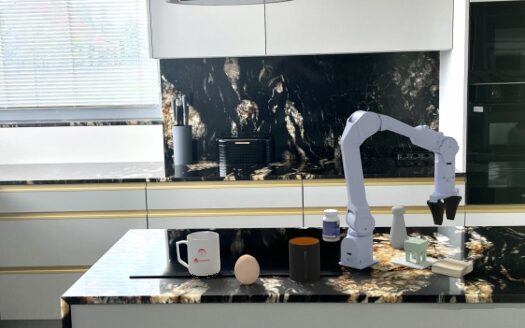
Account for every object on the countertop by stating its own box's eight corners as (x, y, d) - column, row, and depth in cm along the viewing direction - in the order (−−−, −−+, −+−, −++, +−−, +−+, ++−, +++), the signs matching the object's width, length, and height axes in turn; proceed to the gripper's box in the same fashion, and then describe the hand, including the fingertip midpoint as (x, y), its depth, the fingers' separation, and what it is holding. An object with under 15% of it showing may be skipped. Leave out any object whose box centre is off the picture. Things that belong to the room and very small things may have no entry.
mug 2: (290, 288, 154) (289, 249, 152) (289, 273, 166) (288, 237, 164) (322, 287, 154) (322, 248, 152) (319, 272, 166) (318, 236, 164)
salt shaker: (394, 243, 192) (394, 203, 190) (411, 245, 188) (411, 205, 186) (385, 247, 187) (385, 207, 185) (402, 250, 184) (402, 209, 182)
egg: (231, 282, 160) (230, 253, 159) (254, 278, 163) (252, 250, 161) (240, 289, 154) (239, 260, 153) (263, 285, 157) (262, 256, 155)
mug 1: (220, 267, 172) (219, 230, 171) (220, 278, 164) (218, 238, 162) (179, 269, 172) (177, 232, 170) (176, 280, 163) (174, 240, 162)
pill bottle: (340, 241, 196) (340, 212, 194) (323, 242, 196) (323, 212, 194) (338, 237, 201) (338, 208, 200) (322, 237, 201) (321, 208, 200)
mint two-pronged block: (419, 264, 168) (419, 244, 167) (403, 261, 171) (403, 241, 170) (428, 260, 171) (428, 240, 170) (412, 257, 175) (412, 237, 174)
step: (459, 277, 157) (459, 270, 157) (431, 271, 162) (431, 264, 162) (472, 270, 163) (472, 263, 162) (445, 264, 168) (445, 257, 168)
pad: (421, 269, 165) (421, 268, 164) (390, 263, 171) (390, 261, 171) (439, 261, 172) (439, 259, 172) (408, 254, 179) (408, 253, 178)
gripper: (445, 181, 165) (445, 229, 167) (469, 174, 175) (468, 219, 177) (422, 179, 169) (422, 225, 171) (446, 172, 180) (446, 216, 182)
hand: (444, 222), depth 174 cm, fingers open, 7 cm apart
